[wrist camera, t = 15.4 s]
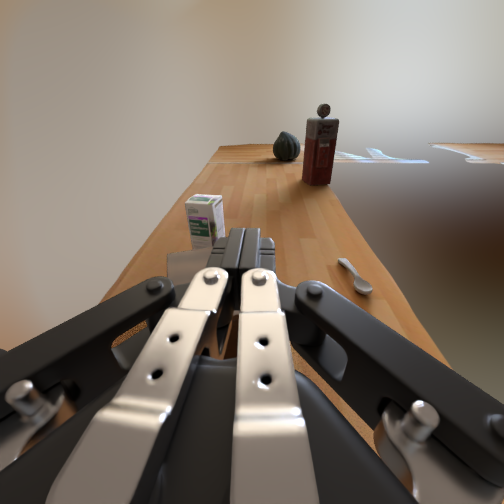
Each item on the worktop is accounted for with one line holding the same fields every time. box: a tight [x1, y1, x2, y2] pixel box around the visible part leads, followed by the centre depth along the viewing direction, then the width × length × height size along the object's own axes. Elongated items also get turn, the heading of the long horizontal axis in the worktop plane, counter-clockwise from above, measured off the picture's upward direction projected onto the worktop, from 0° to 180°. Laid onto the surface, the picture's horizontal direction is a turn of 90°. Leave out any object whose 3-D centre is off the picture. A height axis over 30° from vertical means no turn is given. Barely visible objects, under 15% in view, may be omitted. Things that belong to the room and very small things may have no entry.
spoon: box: [338, 258, 372, 295], centre depth 49 cm, size 3×12×2 cm, turn 5°
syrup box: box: [185, 194, 225, 250], centre depth 52 cm, size 6×6×14 cm
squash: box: [273, 132, 300, 160], centre depth 139 cm, size 14×15×15 cm
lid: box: [167, 247, 241, 321], centre depth 35 cm, size 16×14×1 cm
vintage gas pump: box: [302, 104, 339, 186], centre depth 96 cm, size 9×11×28 cm
